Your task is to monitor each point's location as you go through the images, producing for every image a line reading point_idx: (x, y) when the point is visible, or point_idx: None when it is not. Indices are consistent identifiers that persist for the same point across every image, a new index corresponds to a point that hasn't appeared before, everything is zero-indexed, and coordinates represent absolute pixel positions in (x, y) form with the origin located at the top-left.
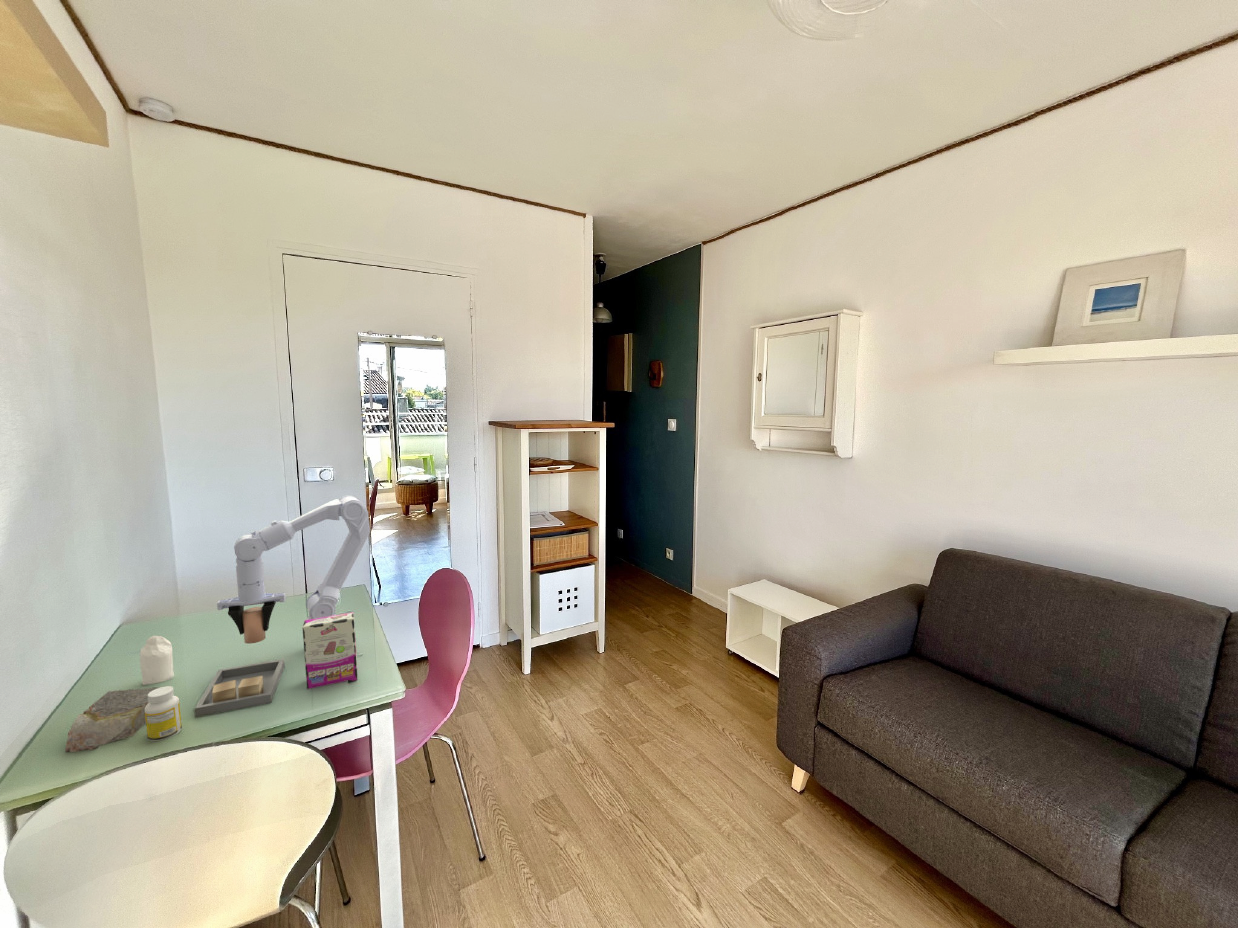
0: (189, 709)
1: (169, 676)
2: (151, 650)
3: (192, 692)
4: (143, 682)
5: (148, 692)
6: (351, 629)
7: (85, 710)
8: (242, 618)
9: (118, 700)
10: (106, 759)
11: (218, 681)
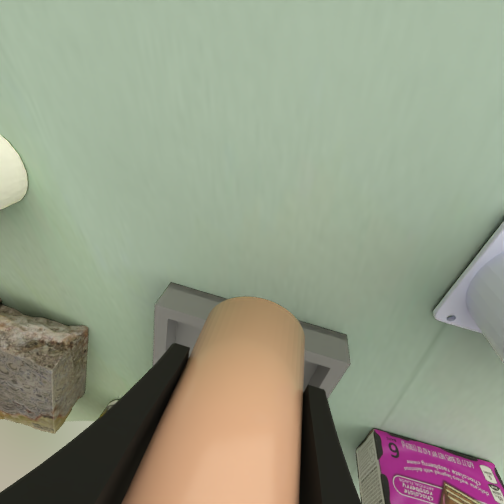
0: (141, 370)
1: (15, 195)
2: None
3: (123, 308)
4: None
5: (29, 374)
6: None
7: None
8: (129, 468)
9: None
10: (76, 413)
11: (171, 339)
